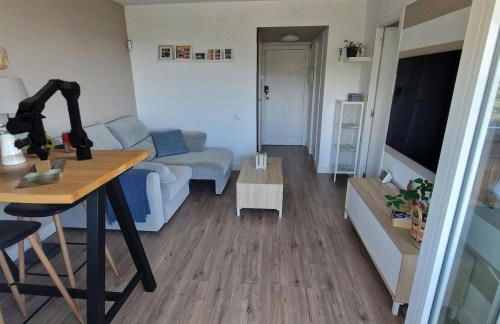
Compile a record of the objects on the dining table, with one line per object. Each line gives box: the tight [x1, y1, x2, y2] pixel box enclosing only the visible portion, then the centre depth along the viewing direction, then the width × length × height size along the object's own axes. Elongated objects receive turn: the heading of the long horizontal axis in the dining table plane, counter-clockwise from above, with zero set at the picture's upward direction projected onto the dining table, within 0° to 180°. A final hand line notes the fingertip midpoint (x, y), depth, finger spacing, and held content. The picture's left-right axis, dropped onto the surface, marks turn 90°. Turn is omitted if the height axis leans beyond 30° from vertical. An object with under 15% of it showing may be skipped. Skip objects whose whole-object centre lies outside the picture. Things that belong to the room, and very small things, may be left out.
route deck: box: [19, 158, 68, 189], centre depth 122 cm, size 12×32×4 cm, turn 27°
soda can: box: [60, 130, 76, 154], centre depth 160 cm, size 7×7×12 cm
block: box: [34, 159, 51, 173], centre depth 119 cm, size 4×4×4 cm
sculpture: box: [26, 133, 55, 158], centre depth 154 cm, size 15×13×13 cm
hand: (45, 164), depth 122 cm, fingers closed
